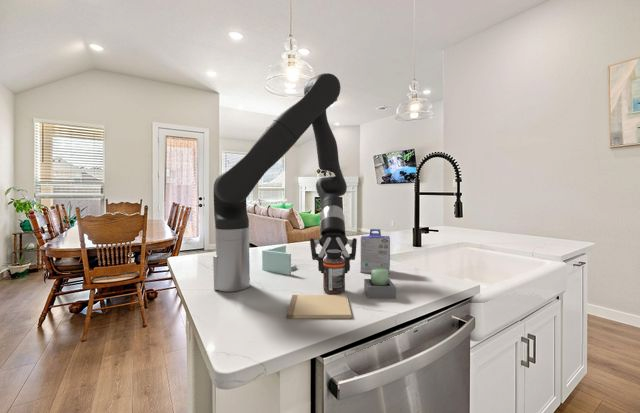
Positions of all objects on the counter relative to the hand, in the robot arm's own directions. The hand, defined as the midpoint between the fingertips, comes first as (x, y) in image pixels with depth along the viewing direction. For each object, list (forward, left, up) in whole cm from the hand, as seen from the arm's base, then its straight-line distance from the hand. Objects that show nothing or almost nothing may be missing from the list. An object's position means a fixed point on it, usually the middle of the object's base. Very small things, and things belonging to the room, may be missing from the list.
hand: (334, 271), depth 78 cm
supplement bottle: (0, +1, -6) cm, 6 cm away
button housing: (+12, -1, -6) cm, 13 cm away
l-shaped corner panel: (-16, +25, -6) cm, 31 cm away
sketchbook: (-4, -10, -6) cm, 12 cm away
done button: (+12, -1, -3) cm, 12 cm away
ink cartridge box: (+15, +21, -6) cm, 26 cm away
